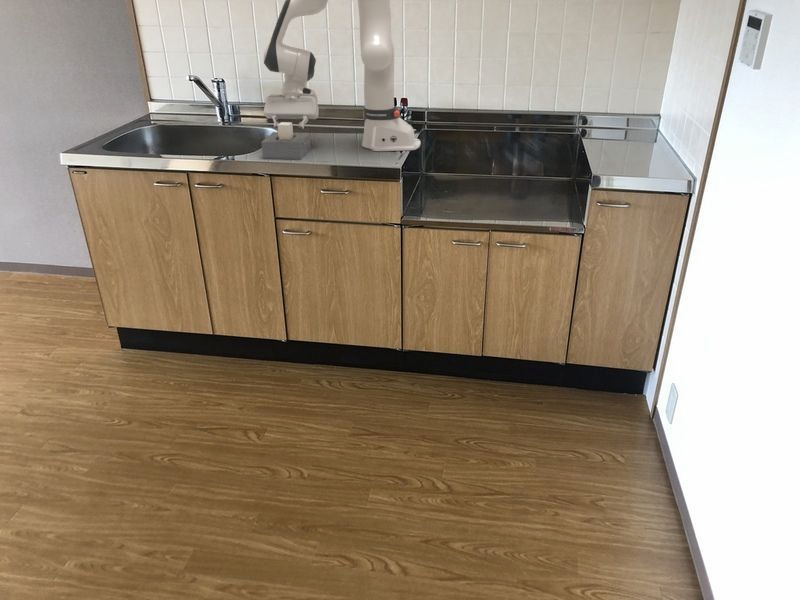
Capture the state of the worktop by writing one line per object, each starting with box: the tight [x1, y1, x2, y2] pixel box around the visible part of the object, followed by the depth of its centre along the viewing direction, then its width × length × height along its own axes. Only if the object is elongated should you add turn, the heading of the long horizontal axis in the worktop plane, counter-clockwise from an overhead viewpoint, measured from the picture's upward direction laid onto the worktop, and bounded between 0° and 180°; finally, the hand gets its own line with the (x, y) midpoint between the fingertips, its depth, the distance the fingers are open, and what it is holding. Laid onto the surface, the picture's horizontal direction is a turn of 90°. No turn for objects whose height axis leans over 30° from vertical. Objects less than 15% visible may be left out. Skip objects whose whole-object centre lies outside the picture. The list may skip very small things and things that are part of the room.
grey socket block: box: [260, 131, 312, 161], centre depth 245 cm, size 14×14×6 cm
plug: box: [277, 121, 294, 140], centre depth 244 cm, size 4×4×11 cm
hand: (288, 127), depth 246 cm, fingers open, 8 cm apart
